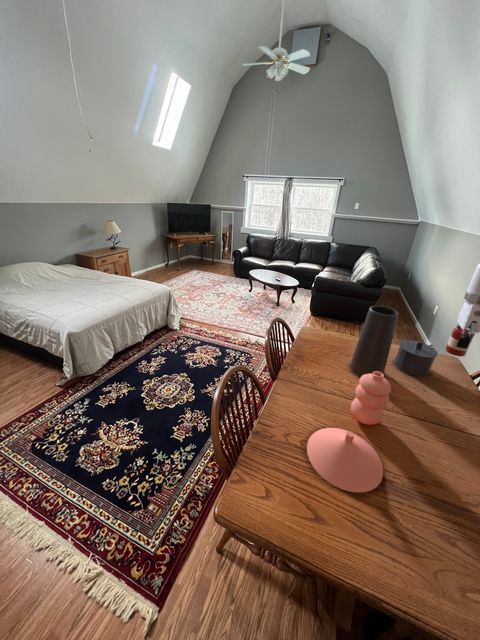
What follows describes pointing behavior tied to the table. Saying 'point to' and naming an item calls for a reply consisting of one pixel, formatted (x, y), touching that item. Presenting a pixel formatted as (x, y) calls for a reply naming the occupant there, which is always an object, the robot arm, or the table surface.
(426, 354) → the pot lid
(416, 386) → the table surface
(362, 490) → the ceramic vessels
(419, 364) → the pot
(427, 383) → the table surface
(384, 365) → the vase
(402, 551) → the table surface
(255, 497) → the table surface
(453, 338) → the sauce can
